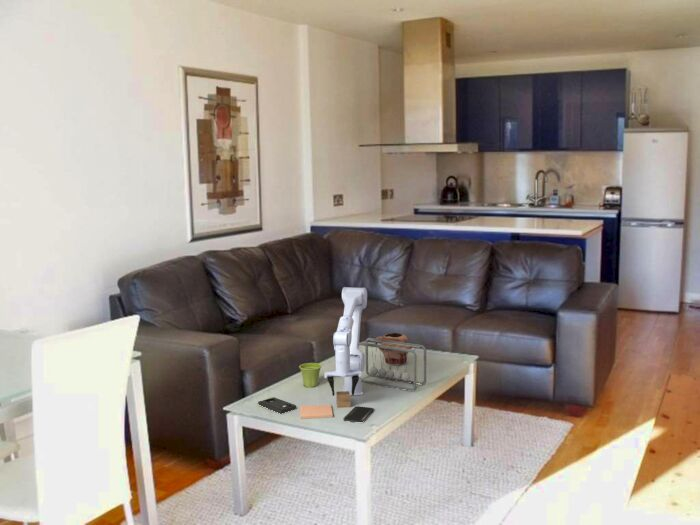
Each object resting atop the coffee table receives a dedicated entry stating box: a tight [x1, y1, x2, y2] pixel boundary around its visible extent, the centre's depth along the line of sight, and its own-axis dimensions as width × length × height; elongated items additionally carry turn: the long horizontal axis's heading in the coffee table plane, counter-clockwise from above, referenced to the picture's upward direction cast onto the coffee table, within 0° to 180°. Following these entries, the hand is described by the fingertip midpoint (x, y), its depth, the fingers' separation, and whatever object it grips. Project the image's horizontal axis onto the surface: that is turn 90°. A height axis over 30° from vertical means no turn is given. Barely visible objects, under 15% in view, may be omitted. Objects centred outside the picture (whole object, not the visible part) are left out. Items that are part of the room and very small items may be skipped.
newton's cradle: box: [356, 337, 427, 391], centre depth 313 cm, size 30×10×18 cm, turn 58°
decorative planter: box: [374, 332, 413, 366], centre depth 344 cm, size 20×12×14 cm, turn 62°
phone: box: [343, 405, 375, 423], centre depth 275 cm, size 8×1×15 cm
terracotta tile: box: [300, 404, 334, 420], centre depth 279 cm, size 12×12×1 cm
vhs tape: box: [257, 396, 297, 415], centre depth 285 cm, size 14×8×2 cm, turn 45°
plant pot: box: [298, 362, 322, 388], centre depth 312 cm, size 9×9×9 cm
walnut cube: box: [335, 390, 351, 409], centre depth 286 cm, size 5×5×5 cm
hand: (343, 394), depth 286 cm, fingers open, 7 cm apart
